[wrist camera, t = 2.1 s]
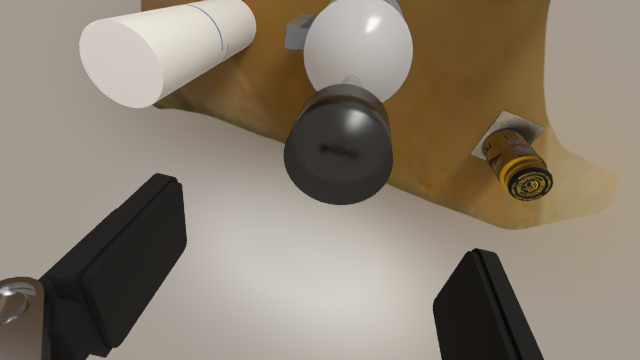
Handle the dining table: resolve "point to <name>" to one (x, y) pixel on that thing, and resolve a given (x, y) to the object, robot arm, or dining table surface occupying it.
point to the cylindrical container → (163, 48)
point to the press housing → (354, 45)
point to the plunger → (340, 145)
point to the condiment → (515, 157)
